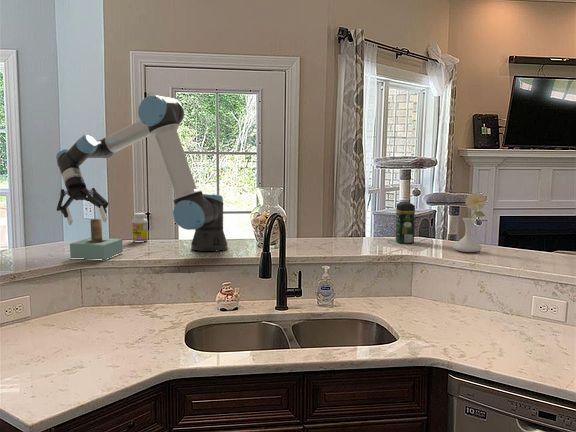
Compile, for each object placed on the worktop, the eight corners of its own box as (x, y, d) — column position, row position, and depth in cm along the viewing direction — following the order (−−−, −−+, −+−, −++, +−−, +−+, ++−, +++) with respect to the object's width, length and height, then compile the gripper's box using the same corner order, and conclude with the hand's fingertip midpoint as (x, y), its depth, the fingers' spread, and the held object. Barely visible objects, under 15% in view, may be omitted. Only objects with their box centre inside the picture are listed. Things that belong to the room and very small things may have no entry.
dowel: (104, 254, 212) (103, 219, 210) (99, 256, 208) (98, 220, 207) (95, 254, 213) (94, 218, 211) (89, 256, 209) (88, 220, 207)
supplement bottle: (129, 242, 243) (128, 213, 241) (140, 240, 249) (139, 212, 247) (140, 243, 240) (140, 214, 238) (151, 241, 246) (150, 213, 244)
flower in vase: (447, 251, 227) (450, 191, 224) (462, 248, 234) (465, 190, 231) (475, 255, 217) (479, 193, 214) (490, 252, 224) (494, 192, 221)
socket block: (122, 253, 216) (122, 239, 215) (104, 261, 202) (104, 245, 202) (90, 252, 219) (90, 237, 218) (70, 259, 205) (69, 243, 204)
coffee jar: (393, 240, 252) (395, 200, 250) (410, 240, 252) (412, 200, 250) (397, 244, 242) (399, 202, 240) (415, 244, 242) (417, 203, 240)
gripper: (101, 186, 234) (116, 224, 225) (40, 188, 218) (53, 230, 209) (106, 174, 229) (121, 213, 220) (43, 176, 214) (57, 218, 204)
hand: (88, 221), depth 214 cm, fingers open, 13 cm apart
